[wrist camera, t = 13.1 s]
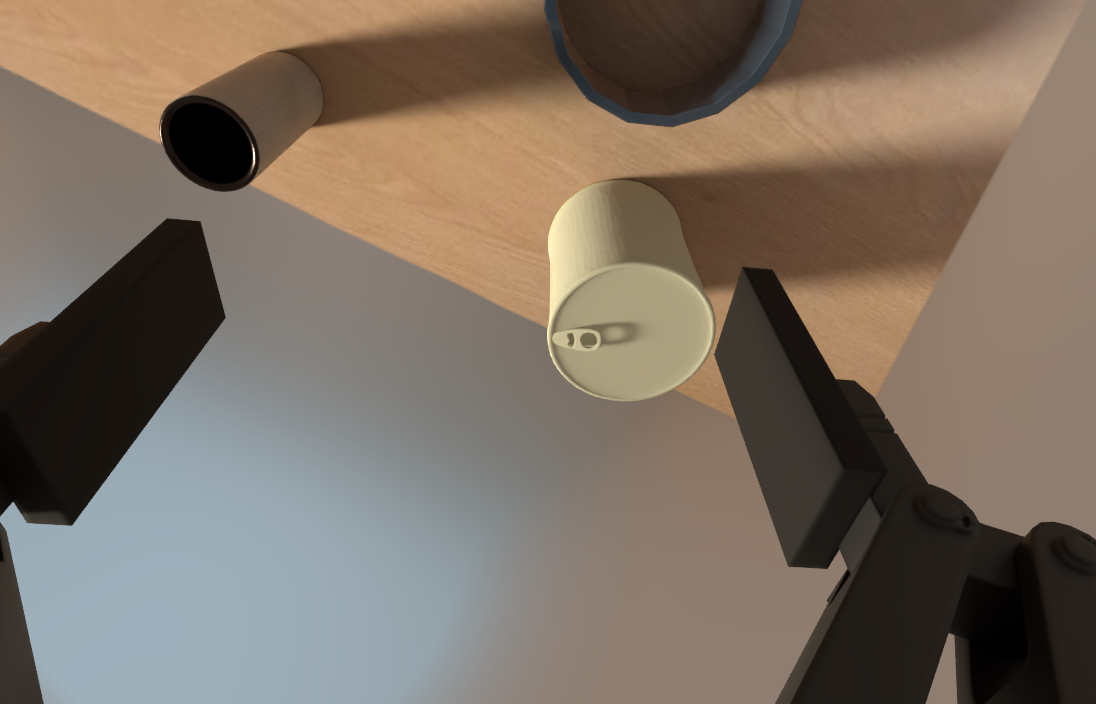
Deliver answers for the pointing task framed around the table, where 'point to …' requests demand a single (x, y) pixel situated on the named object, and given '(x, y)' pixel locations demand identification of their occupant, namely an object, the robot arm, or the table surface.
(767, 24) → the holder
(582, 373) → the can
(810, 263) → the table surface
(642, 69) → the table surface
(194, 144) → the planter
